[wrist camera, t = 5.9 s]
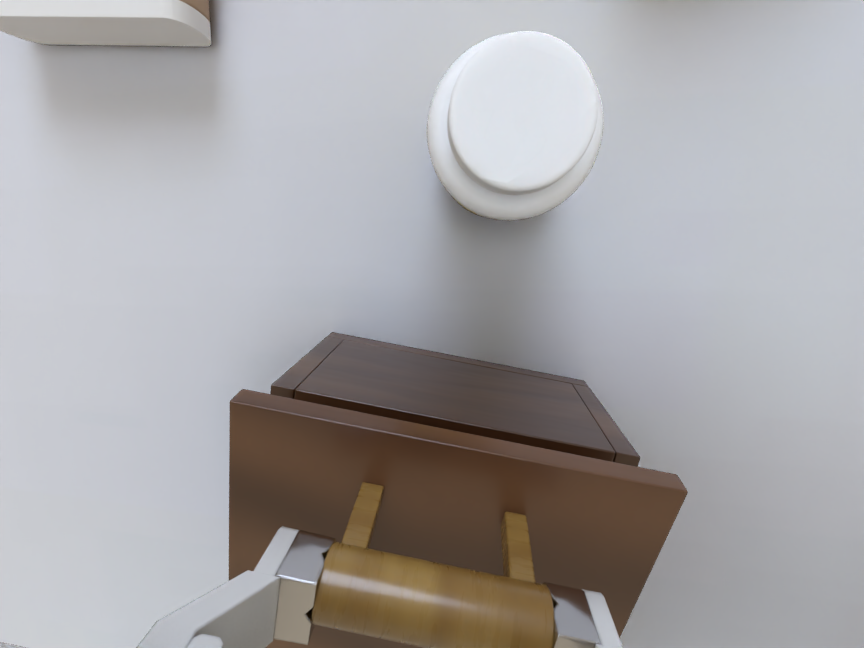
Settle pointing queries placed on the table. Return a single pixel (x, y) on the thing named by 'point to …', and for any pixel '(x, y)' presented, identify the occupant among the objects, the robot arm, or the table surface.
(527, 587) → the chest lid
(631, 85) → the table surface
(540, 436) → the chest
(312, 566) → the robot arm
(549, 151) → the supplement bottle
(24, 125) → the table surface
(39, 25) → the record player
